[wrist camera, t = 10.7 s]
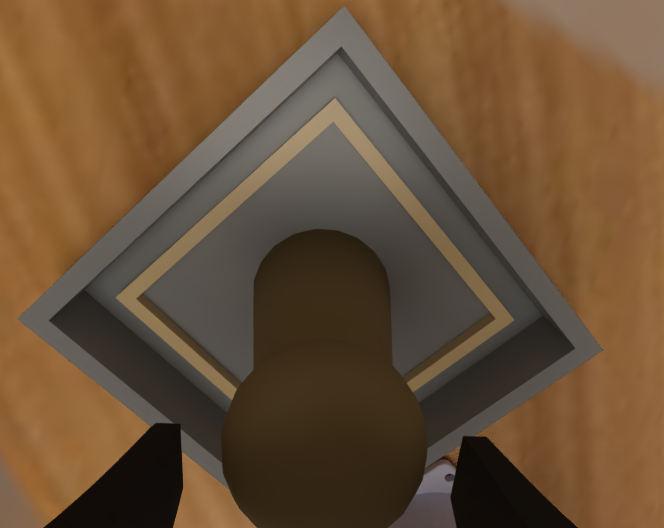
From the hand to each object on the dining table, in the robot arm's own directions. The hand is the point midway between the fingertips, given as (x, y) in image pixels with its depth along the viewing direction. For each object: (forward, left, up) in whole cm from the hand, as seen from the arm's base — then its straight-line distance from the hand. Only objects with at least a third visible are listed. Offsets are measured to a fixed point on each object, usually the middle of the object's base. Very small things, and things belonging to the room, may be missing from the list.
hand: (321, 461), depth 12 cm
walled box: (0, 0, -10) cm, 10 cm away
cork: (0, 0, -10) cm, 10 cm away
